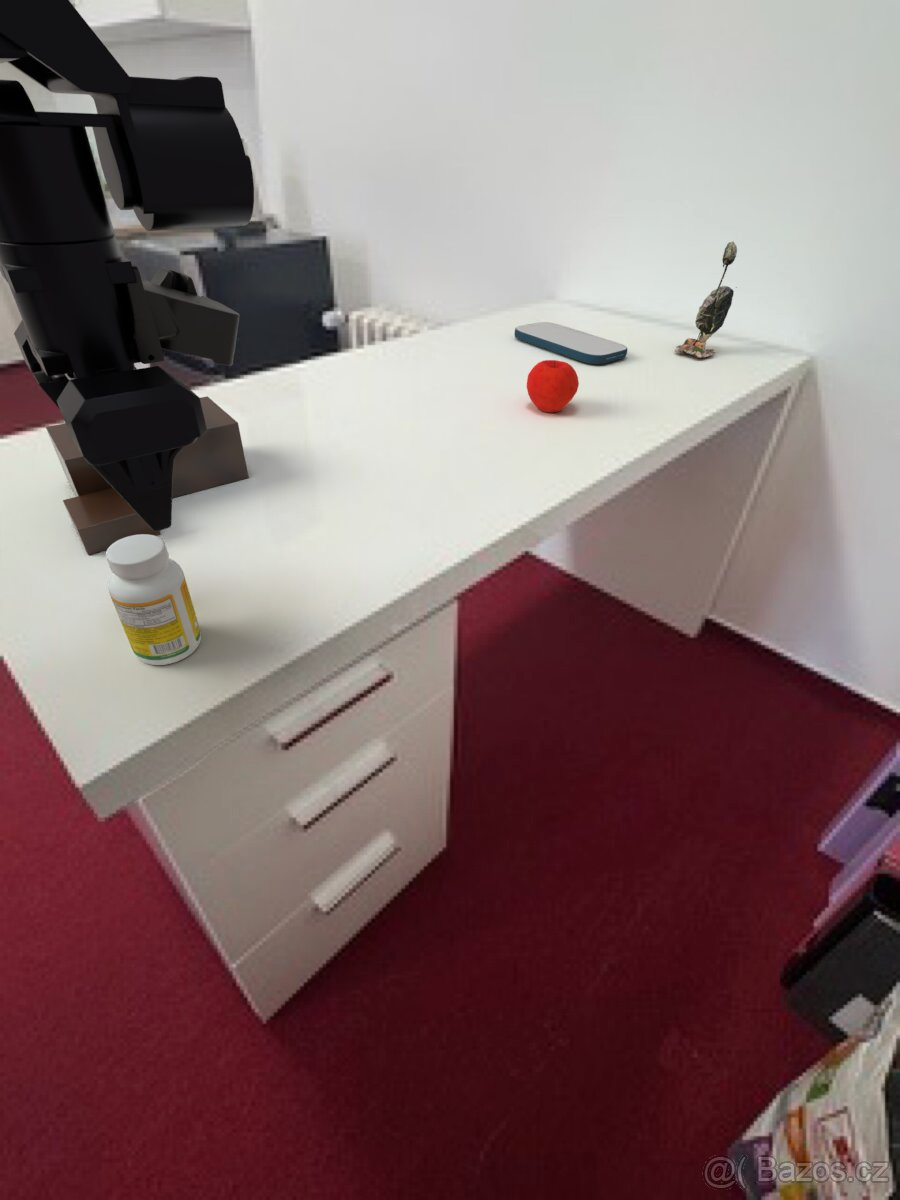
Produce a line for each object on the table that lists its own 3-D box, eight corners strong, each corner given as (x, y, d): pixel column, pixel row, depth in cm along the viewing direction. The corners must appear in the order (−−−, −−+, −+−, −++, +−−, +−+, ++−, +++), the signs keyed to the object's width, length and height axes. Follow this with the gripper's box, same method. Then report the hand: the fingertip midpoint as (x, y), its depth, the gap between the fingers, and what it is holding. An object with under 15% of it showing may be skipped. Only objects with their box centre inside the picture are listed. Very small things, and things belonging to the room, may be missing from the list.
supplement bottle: (173, 674, 47) (137, 577, 41) (119, 656, 48) (76, 559, 42) (216, 632, 51) (189, 537, 45) (165, 617, 52) (132, 523, 46)
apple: (568, 399, 97) (575, 353, 93) (579, 418, 91) (588, 369, 87) (520, 399, 97) (525, 352, 92) (528, 418, 91) (534, 368, 86)
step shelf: (88, 555, 59) (61, 492, 55) (54, 487, 69) (30, 429, 65) (272, 501, 68) (263, 444, 64) (219, 448, 79) (207, 396, 74)
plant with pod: (730, 353, 121) (766, 240, 109) (696, 362, 116) (730, 244, 103) (696, 343, 126) (727, 234, 114) (662, 351, 121) (691, 237, 108)
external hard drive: (507, 337, 125) (508, 327, 123) (545, 330, 130) (547, 320, 129) (594, 368, 111) (596, 357, 109) (632, 358, 116) (634, 347, 115)
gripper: (274, 253, 29) (310, 523, 39) (159, 210, 41) (209, 428, 51) (14, 273, 24) (131, 581, 34) (-34, 216, 35) (64, 459, 45)
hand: (141, 499), depth 41 cm, fingers open, 9 cm apart
